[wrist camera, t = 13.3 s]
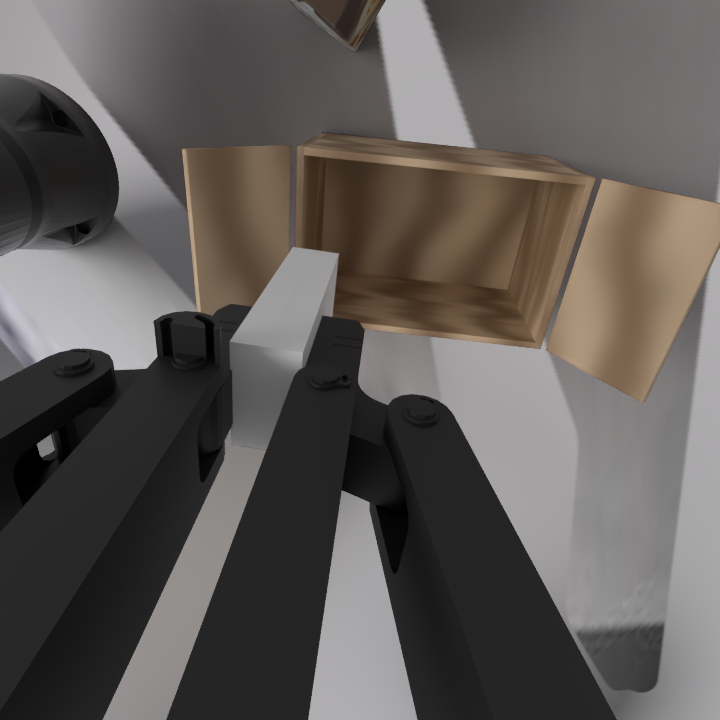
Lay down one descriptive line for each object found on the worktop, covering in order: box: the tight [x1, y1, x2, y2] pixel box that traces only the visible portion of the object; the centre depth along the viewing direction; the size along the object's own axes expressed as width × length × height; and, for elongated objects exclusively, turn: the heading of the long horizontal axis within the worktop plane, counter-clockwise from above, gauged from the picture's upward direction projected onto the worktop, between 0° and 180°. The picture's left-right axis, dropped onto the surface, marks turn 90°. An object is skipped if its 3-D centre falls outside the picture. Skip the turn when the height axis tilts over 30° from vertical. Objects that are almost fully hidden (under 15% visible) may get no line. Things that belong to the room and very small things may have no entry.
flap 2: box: [546, 179, 720, 403], centre depth 32 cm, size 8×13×1 cm
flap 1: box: [182, 145, 291, 316], centre depth 32 cm, size 8×13×1 cm
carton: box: [295, 132, 596, 349], centre depth 40 cm, size 20×13×12 cm, turn 85°
